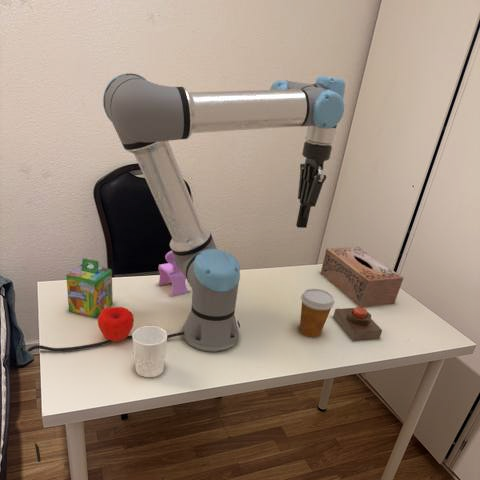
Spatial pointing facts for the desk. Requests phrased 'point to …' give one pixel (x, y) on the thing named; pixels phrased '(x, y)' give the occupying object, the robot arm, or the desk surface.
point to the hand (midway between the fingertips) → (301, 226)
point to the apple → (115, 323)
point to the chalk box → (89, 288)
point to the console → (357, 325)
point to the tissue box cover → (361, 276)
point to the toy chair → (172, 275)
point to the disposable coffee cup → (314, 311)
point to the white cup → (149, 350)
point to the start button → (360, 312)
